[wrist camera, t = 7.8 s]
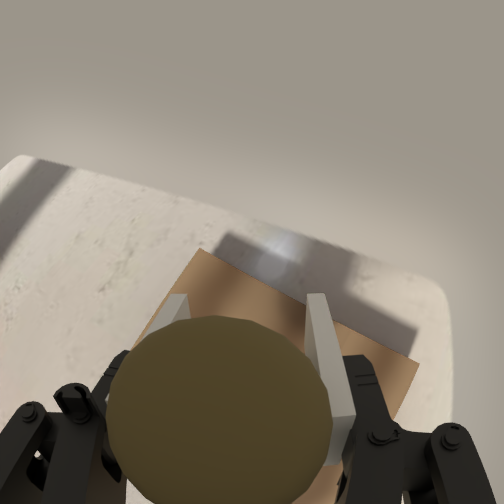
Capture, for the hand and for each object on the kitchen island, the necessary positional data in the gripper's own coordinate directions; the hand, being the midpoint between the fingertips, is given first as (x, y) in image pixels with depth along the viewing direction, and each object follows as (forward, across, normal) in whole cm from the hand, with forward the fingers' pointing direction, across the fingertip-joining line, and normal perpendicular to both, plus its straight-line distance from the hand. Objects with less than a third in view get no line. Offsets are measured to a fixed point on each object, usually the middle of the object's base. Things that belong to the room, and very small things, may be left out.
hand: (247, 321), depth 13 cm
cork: (0, 0, -5) cm, 5 cm away
